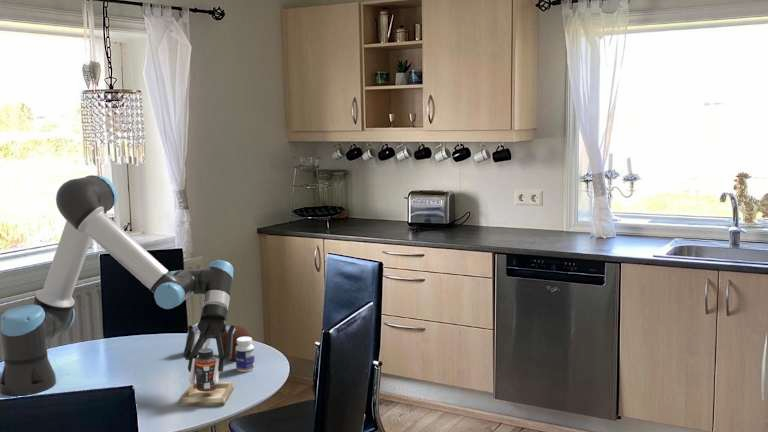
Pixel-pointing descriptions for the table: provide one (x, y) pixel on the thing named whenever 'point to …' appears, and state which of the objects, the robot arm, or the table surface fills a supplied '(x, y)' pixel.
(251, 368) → the pill bottle
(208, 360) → the supplement bottle
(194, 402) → the birch tray
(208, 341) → the donut
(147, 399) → the table surface
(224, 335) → the muffin
